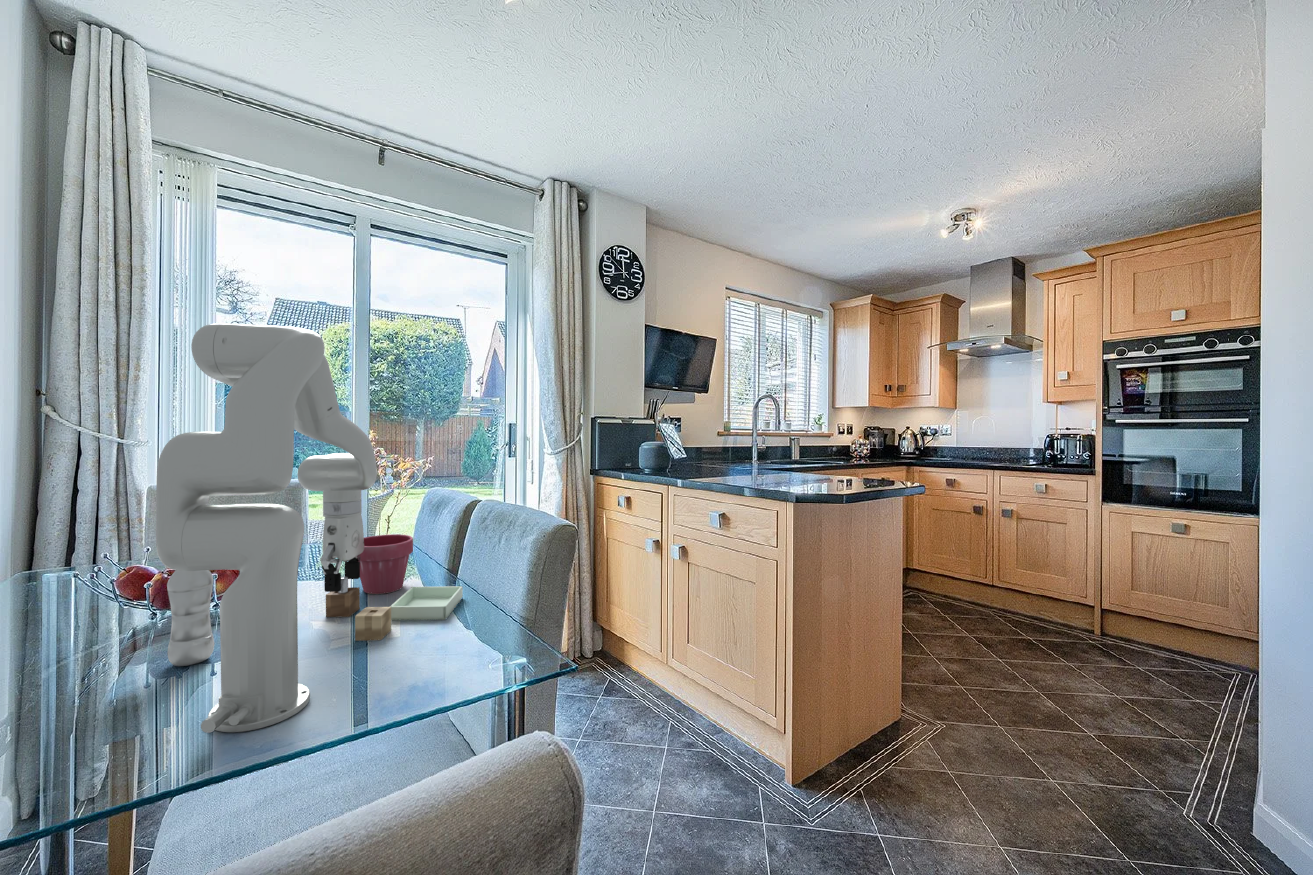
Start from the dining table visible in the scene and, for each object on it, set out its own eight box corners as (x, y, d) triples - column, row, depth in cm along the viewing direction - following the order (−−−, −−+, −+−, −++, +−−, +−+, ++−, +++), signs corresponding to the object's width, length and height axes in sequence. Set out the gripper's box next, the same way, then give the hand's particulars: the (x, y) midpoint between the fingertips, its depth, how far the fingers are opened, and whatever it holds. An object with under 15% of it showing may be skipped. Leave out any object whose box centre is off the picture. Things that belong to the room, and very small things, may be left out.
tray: (445, 619, 121) (445, 606, 121) (389, 620, 120) (389, 606, 120) (462, 598, 135) (462, 586, 135) (412, 598, 134) (412, 586, 134)
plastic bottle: (158, 672, 95) (156, 558, 94) (181, 655, 101) (179, 548, 100) (202, 668, 96) (201, 556, 96) (222, 652, 103) (220, 547, 102)
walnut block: (349, 616, 122) (349, 594, 121) (325, 616, 121) (325, 594, 121) (359, 608, 127) (359, 587, 126) (337, 608, 126) (336, 587, 126)
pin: (345, 614, 123) (344, 579, 123) (336, 614, 123) (335, 579, 123) (349, 611, 125) (349, 576, 125) (340, 611, 125) (340, 576, 125)
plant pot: (363, 581, 147) (363, 533, 146) (418, 579, 149) (419, 532, 149) (342, 599, 133) (342, 546, 132) (404, 596, 135) (404, 545, 135)
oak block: (381, 640, 110) (381, 615, 110) (355, 640, 109) (355, 615, 109) (391, 630, 115) (391, 606, 115) (366, 630, 114) (366, 607, 114)
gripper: (341, 515, 115) (341, 597, 115) (376, 502, 132) (376, 573, 133) (303, 515, 114) (304, 597, 115) (343, 501, 131) (344, 573, 132)
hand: (342, 584), depth 124 cm, fingers open, 8 cm apart
